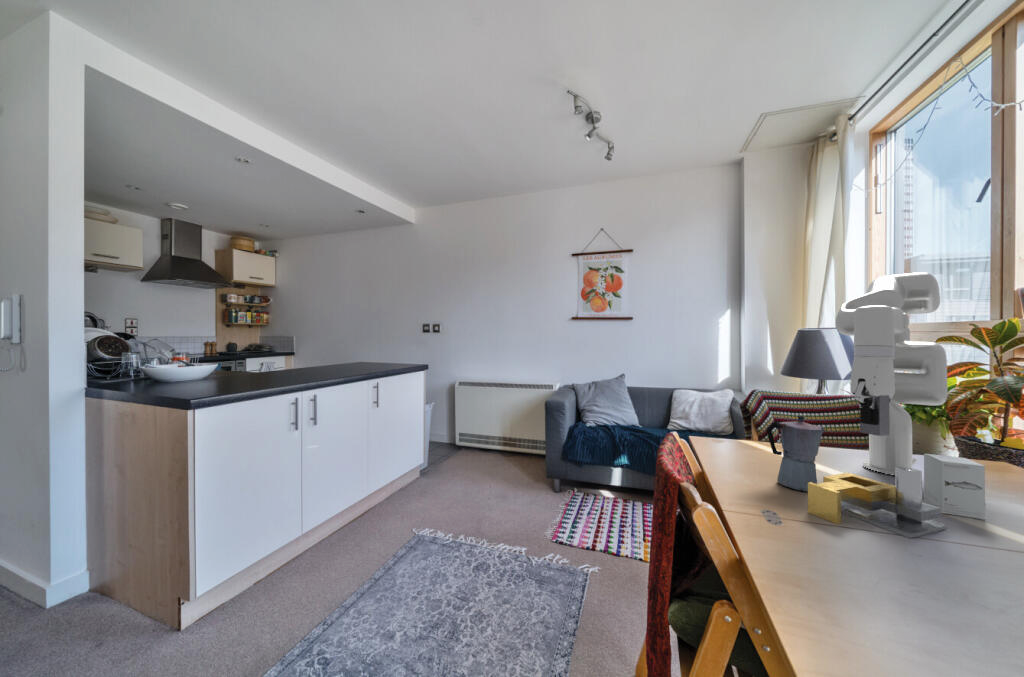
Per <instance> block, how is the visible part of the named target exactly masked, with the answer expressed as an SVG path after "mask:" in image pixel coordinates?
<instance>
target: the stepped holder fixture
mask: <svg viewBox="0 0 1024 677" xmlns="http://www.w3.org/2000/svg"><path fill="white" fill-rule="evenodd" d="M922 474H923V473H922V471H921V470H919V469H915V468H913V469H912V468H907V467H895V476H894V477H895V480H894V482H895V484H894V485H893V484H891V483H890V484H889V483H885V482H882V481H880V480H879V481H878V480H876V479H872V478H868V477H866V476H865V477H864V476H862V475H858V474H855V473H850V472H845V473H837V474H831V475H824V476H823V477H822V479H823V481H822V482H820V483H818V482H817V484H815V483H812V482H810V483H808V492H807V513H809V514H811V515H813V516H816V517H818V518H821V519H824V520H826V521H828V522H831V523H833V524H836V525H841V524H842V514H844V515H847V516H849V517H852V518H855V519H856V520H857V519H858V520H860V521H863V522H866V523H869V524H871V525H874V526H876V527H878V528H882V529H884V530H887V531H889V532H891V533H892V532H893V533H895V534H897V535H901V536H903V537H905V538H907V539H913V538H917V537H921V536H925V535H930V534H933V533H936V532H940V531H944V530H947V525H946V524H944V523H941V522H938V521H935V520H934V519H938V518H941V513H940V508H939V507H936V506H933V505H929V504H927V503H925V502H923V478H922V476H923V475H922Z"/></svg>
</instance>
